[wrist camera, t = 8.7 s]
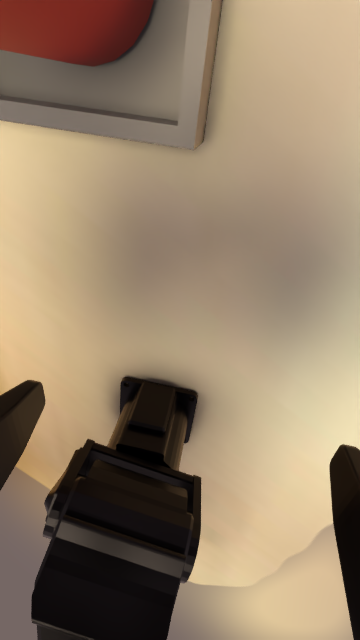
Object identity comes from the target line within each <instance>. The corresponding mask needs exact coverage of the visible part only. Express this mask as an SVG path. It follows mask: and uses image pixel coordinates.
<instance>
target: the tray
mask: <svg viewBox="0 0 360 640" xmlns="http://www.w3.org/2000/svg"><path fill="white" fill-rule="evenodd" d="M222 1H223V0H154V1H153V4H152V8H151V11H150V15H149V18H148V21H147V23H146V25H145V26H144V28H143V30H142V31H141V33H140V35H139V36H138V38H137V40H136V41H135V43H134V45H133V46H131V47H130V48H129V49H128V50H127V51H125V52H124V53H123V54H122V55H121V56H119V57H118V58H117V59H116V60H114V61H111V62H108V63H104V64H101V65H98V66H94V67H93V66H85V65H78V64H71V63H66V62H61V61H56V60H51V59H45V58H40V57H35V56H30V55H25V54H20V53H15V52H10V51H4V50H0V120H1V121H8V122H15V123H21V124H28V125H34V126H41V127H47V128H54V129H60V130H67V131H73V132H80V133H86V134H93V135H99V136H106V137H112V138H119V139H125V140H132V141H138V142H145V143H151V144H158V145H164V146H171V147H177V148H184V149H190V150H194V149H195V148H197V147H198V146H199V145H200V144H201V143H202V142H203V140H204V133H205V125H206V118H207V111H208V103H209V96H210V89H211V81H212V74H213V67H214V59H215V52H216V45H217V38H218V30H219V23H220V16H221V8H222Z"/></svg>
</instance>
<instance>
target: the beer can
mask: <svg viewBox="0 0 360 640" xmlns="http://www.w3.org/2000/svg"><path fill="white" fill-rule="evenodd" d="M153 1H154V0H0V50H4V51H10V52H15V53H20V54H25V55H30V56H35V57H40V58H45V59H51V60H56V61H61V62H66V63H71V64H78V65H85V66H93V67H94V66H98V65H101V64H104V63H108V62H111V61H114V60H116V59H117V58H118V57H119V56H121V55H122V54H123V53H124V52H125V51H127V50H128V49H129V48H130V47H131V46H133V45H134V43H135V41H136V40H137V38H138V36H139V35H140V33H141V31H142V30H143V28H144V26H145V25H146V23H147V21H148V18H149V15H150V11H151V8H152V4H153Z"/></svg>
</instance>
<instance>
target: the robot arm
mask: <svg viewBox="0 0 360 640" xmlns="http://www.w3.org/2000/svg"><path fill="white" fill-rule="evenodd" d="M127 383H128V384H127ZM191 397H193V398H191ZM197 399H198V395H197V393H196V392H194V391H189V390H185V389H180V388H175V387H171V386H166V385H161V384H157V383H152V382H147V381H143V380H138V379H133V378H129V377H125V378H123V379H122V381H121V395H120V417H119V419H118V422H117V424H116V427H115V429H114V432H113V434H112V436H111V439H110V441H109V444H108V446H104V445H101V444H98V443H95V441H93V440H90V439H88V440H87V441H86V443H85V445H84V447H83V448H82V447H81V448H80V449H78V450H76V451H75V453H74V455H73V457H72V459H71V461H70V463H69V465H68V467H67V469H66V470H65V472H64V473H63V475H62V476H61V478H60V479H59V480H58V482H57V483H56V484H55V486H54V487H53V488H52V490H51V491H50V492H49V494H48V496H47V498H46V500H45V503H44V504H45V507H46V511H47V517H46V524H45V528H44V531H43V537H46V538H49V539H51V541H50V544H49V547H48V549H47V552H46V554H45V557H44V559H43V562H42V564H41V567H40V570H39V572H38V575H37V577H36V580H35V588H34V591H33V594H32V612H31V617H32V623H34V624H37V633H38V640H166V639H167V636H168V631H169V626H170V621H171V616H172V611H173V608H174V604H175V600H176V596H177V592H178V589H179V585H180V582H181V583H185V582H187V580H188V579H189V576H190V574H191V572H192V569H193V566H194V563H195V559H196V555H197V551H198V545H199V540H200V531H201V477H199V476H196V475H193V476H192V475H189V474H186V473H183V472H180V471H179V465H180V460H181V455H182V450H183V445H184V443H187V442H188V441H189V437H190V432H191V427H192V423H193V418H194V413H195V409H196V404H197ZM44 406H45V395H44V390H43V385H42V383H41V382H38V381H34V380H27V381H25V382H23V383H21V384H19V385H18V386H16V387H14V388H12V389H11V390H9V391H7V392H5V393H4V394H2V395H0V490H1V489H2V487H3V485H4V483H5V482H6V480H7V479H8V477H9V475H10V474H11V472H12V470H13V469H14V467H15V465H16V464H17V462H18V460H19V458H20V457H21V455H22V453H23V451H24V449H25V447H26V445H27V443H28V441H29V439H30V437H31V434H32V432H33V430H34V428H35V426H36V424H37V421H38V419H39V417H40V415H41V413H42V411H43V409H44ZM330 483H331V498H332V512H333V524H334V530H335V536H336V542H337V547H338V553H339V559H340V564H341V570H342V576H343V581H344V587H345V593H346V598H347V604H348V610H349V615H350V621H351V627H352V632H353V638H354V640H360V450H359V449H358V448H356V447H354V446H349V445H344V444H342V445H340V446H339V448H338V450H337V451H336V453H335V454H334V456H333V458H332V459H331V462H330Z"/></svg>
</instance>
